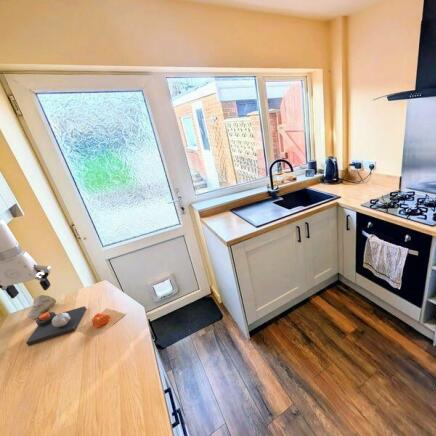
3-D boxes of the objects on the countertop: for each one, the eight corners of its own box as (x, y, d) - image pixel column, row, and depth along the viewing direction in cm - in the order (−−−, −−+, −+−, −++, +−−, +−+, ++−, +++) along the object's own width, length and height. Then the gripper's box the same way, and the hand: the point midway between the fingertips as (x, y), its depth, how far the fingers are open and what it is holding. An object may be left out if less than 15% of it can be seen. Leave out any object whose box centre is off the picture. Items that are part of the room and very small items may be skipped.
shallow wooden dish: (107, 308, 107) (103, 301, 105) (125, 314, 103) (121, 306, 101) (77, 330, 97) (72, 322, 96) (96, 338, 93) (91, 330, 91)
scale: (26, 346, 93) (21, 340, 91) (44, 321, 104) (40, 315, 103) (75, 331, 97) (70, 325, 96) (87, 308, 109) (83, 302, 107)
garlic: (75, 320, 100) (69, 310, 98) (61, 330, 95) (54, 321, 93) (66, 317, 102) (60, 307, 100) (51, 327, 98) (45, 318, 95)
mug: (23, 323, 104) (19, 300, 105) (51, 315, 114) (47, 293, 115) (35, 320, 103) (31, 297, 103) (62, 312, 112) (58, 290, 113)
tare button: (39, 322, 99) (37, 318, 99) (43, 316, 102) (41, 313, 101) (48, 319, 100) (46, 316, 100) (52, 314, 103) (49, 311, 102)
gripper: (-36, 265, 79) (-5, 306, 86) (31, 251, 84) (55, 291, 91) (-19, 254, 86) (9, 292, 93) (42, 242, 91) (64, 279, 98)
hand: (31, 292), depth 92 cm, fingers open, 9 cm apart
